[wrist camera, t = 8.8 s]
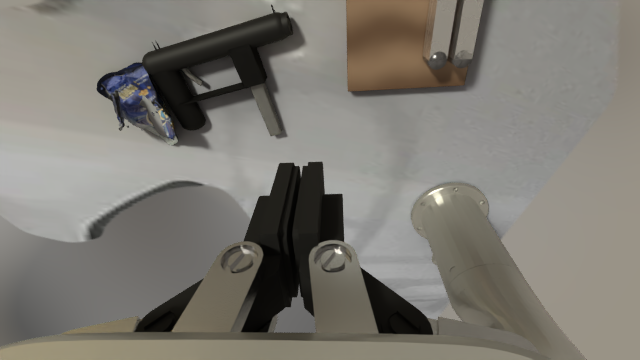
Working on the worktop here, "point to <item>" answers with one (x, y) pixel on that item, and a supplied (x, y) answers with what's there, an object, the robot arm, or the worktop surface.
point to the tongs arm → (438, 32)
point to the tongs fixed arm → (464, 32)
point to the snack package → (136, 99)
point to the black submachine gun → (212, 46)
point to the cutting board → (392, 47)
